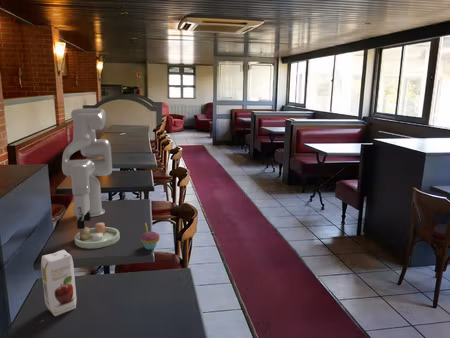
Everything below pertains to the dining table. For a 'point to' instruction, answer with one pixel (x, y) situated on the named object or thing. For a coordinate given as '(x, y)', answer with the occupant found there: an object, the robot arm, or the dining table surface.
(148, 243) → the cupcake
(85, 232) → the maple bead
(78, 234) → the groove tray
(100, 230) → the terracotta bead
